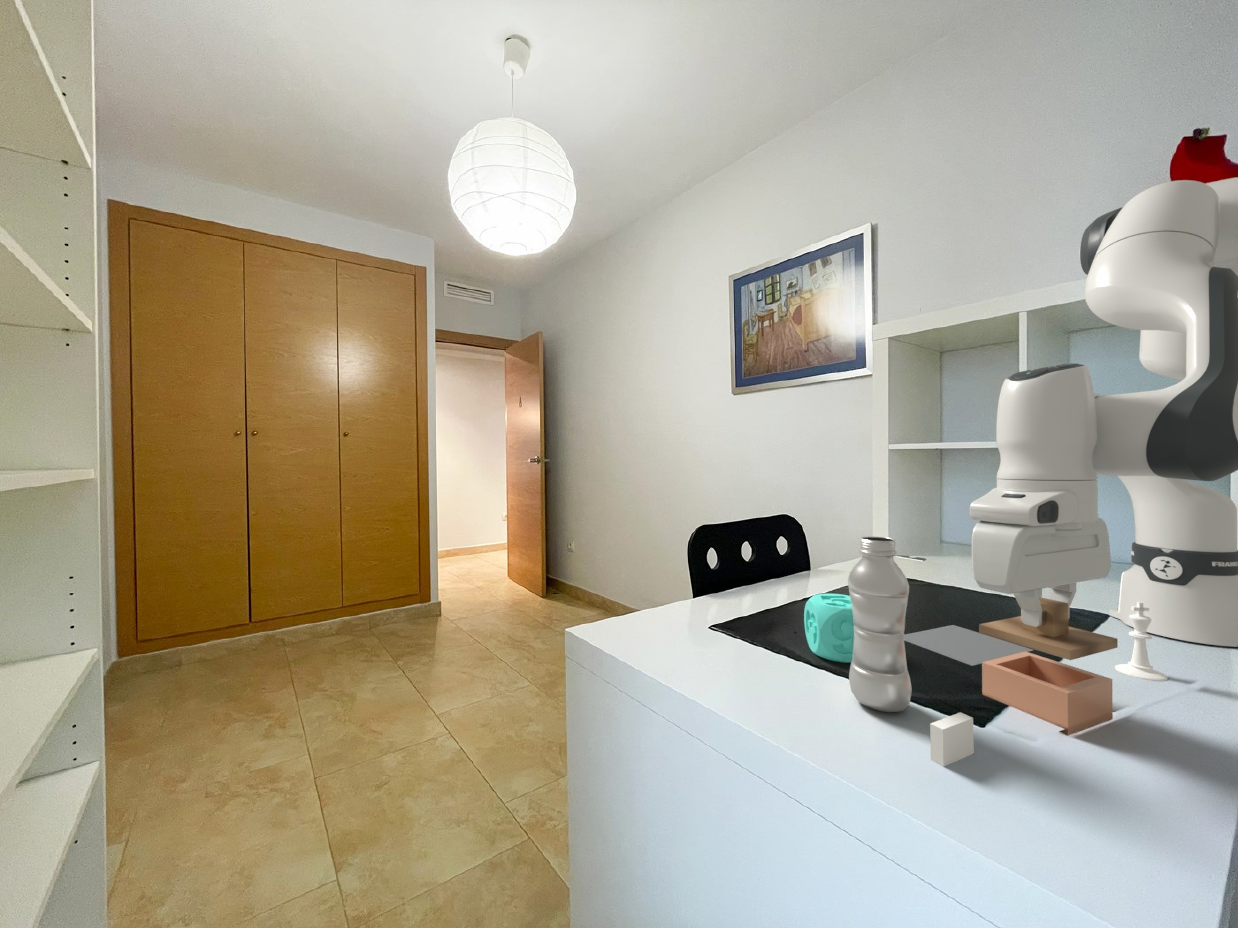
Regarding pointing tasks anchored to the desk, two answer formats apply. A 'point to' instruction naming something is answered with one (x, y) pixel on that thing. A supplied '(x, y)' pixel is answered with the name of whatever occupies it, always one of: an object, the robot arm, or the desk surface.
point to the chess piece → (1140, 649)
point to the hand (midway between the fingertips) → (1045, 622)
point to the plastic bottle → (879, 628)
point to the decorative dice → (830, 626)
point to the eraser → (951, 739)
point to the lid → (1050, 634)
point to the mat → (964, 644)
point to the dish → (1049, 690)
